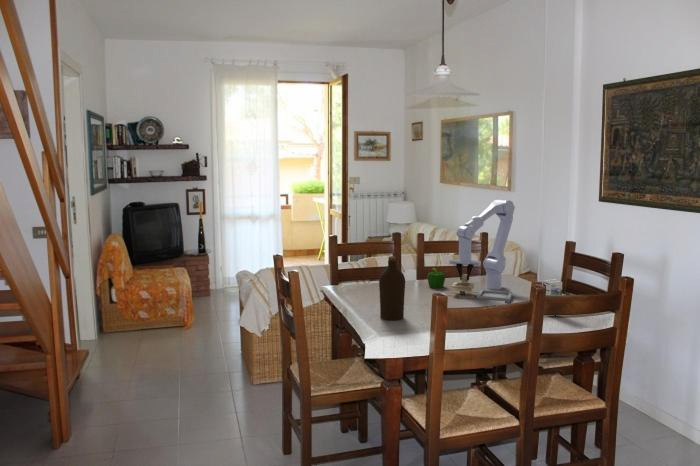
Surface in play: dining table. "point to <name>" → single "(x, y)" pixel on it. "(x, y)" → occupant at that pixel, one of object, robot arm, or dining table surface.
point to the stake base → (456, 293)
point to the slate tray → (495, 297)
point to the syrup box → (553, 287)
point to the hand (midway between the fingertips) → (464, 279)
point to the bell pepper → (436, 279)
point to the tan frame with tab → (462, 285)
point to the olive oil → (392, 292)
